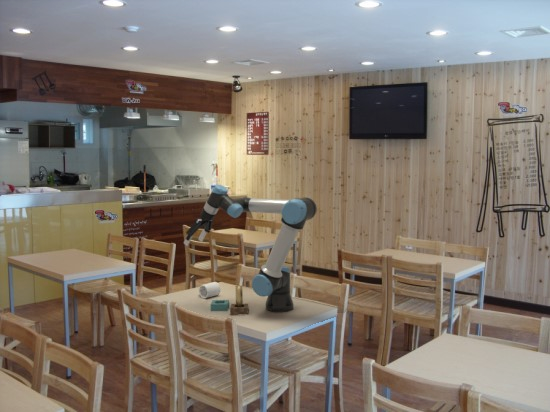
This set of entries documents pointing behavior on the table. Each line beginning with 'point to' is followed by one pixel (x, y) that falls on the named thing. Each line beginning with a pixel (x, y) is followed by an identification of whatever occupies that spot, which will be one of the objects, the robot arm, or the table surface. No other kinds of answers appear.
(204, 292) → the mug
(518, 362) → the table surface
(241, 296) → the pin
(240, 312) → the mount block
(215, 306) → the socket block
